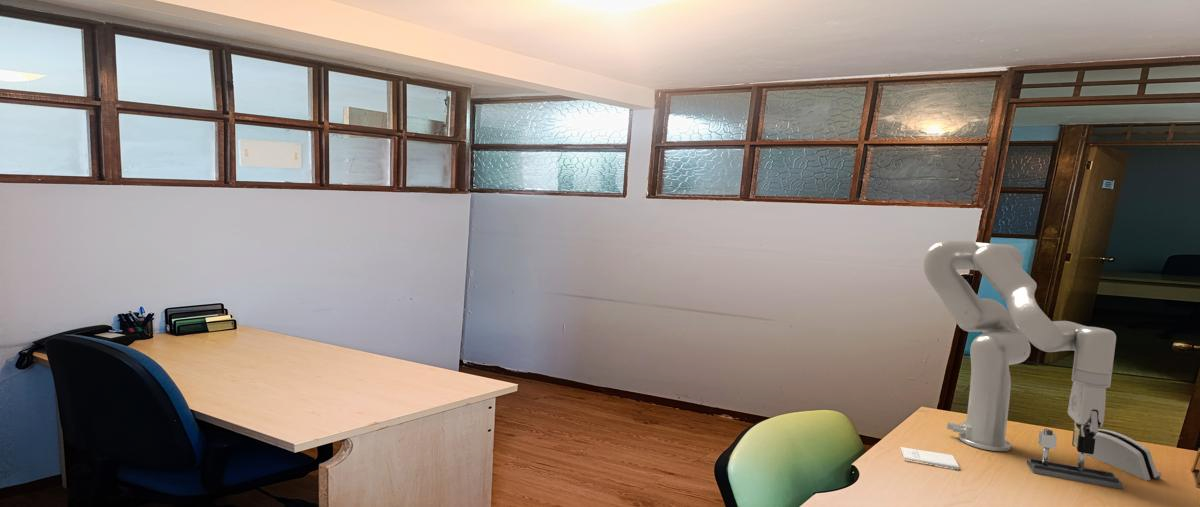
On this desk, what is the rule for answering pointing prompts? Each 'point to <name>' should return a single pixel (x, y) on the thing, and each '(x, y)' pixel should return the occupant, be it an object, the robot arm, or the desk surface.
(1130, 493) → the desk surface
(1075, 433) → the tan square-headed peg
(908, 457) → the external hard drive
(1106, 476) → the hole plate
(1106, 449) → the white black arched block
